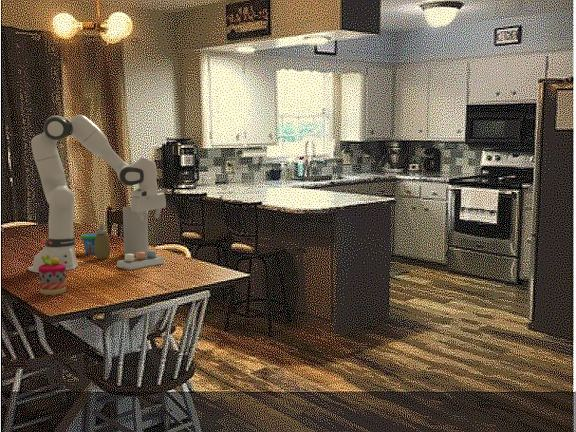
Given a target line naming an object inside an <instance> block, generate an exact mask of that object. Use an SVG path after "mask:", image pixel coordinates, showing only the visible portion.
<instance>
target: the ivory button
mask: <svg viewBox="0 0 576 432" xmlns="http://www.w3.org/2000/svg"><path fill="white" fill-rule="evenodd" d="M134 258H135V256H134V254H124V260H125V261H127V262H131V261H134Z"/></svg>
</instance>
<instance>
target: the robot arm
mask: <svg viewBox="0 0 576 432" xmlns="http://www.w3.org/2000/svg"><path fill="white" fill-rule="evenodd" d="M70 136H71V137H73V138H75V139H76V140H77V141H78V142H79V143H80V145H82V146H83V147H84V148H86V150H88V152H91V153H92V154H94V155H96V156H98V157H100V158H101V159H103V160H104V161H105V162H106V163H107V164H108V165H109V166H110V167H111V168H112V169H113V170H114V171H115V173H116V176H117V179H118V181H119V182H120V183H122V184H123V185H125V186H126V187H128V186H129V187H132V186H135V185H138V187H137V189H135V190H133V191H131V193H130V195H131V199H130V206H131V210H132V211H133V212H138V215H139V216H140V220H141V221H144V220H145V217H143V215H142V214H143V211H147V212H149V211H153V210H154V211H155V214H154V219H159V218H160V213H161V211H162V209H166V206H167V198H166V195H165V191H164V190H163V189H159V188H158V183H157V177H158V175H157V174H158V173H157V164H156V162H155V161H154V160H153V159H150V158H146V157H145V158H144V157H142V158H139V159H138V160H136V161H134V162H133V163H127V162H126V161H124V160H123V159H122V158H121V157H120V156H119V155H118V154H117V153H116V152H115V150H114V149H113V148H112V146H111V145H110V143H109V140H108V138H107V136H106V135H105V133H104V131H102V129H100V128H99V126H98V125H96V123H94V122H93V121H92V120H91V119H89V118H88V117H87V116H85V115H84V114H77V115H74V116H73V117H72V118H69V119H67V118H66V117H64V116H62V115H59V114H58V115H57V114H56V115H51V116H49V117H48V118H46V119H45V122H44V124H43V132H42V133H40V134H37V135H35V136H33V137H32V139H31V142H30V143H31V145H30V146H31V152H32V156H33V159H34V162H35V165H36V168H37V171H38V175H39V179H40V181H41V186H42V189H43V194H44V197H45V200H46V202H47V203H48V207H49V209H48V223H47V224H48V238H47V239H41V241H40V242H41V244H43V245H45V246H44V247H43V248H42V249H41V250H40V251H39V252H38V253H37V254H35V255H34V257H33V261H32V262H33V263H32V265H31V266H28V271H30V272H32V273H38V274H39V267H40V266H41V265H44V264H45V263H44V262H43V259H42V256H45V258H46V255H49V256H50V261H51V260H52V259H53V258H58V259H59V263H60V264H64V265H65V266H66V270H65V271H69V270H74V269H76V268H77V267H78V266H79V263H78V260H77V257H76V250H75V247H76V246H75V245H76V241H75V237H74V215H75V214H74V212H75V211H74V210H75V196H74V192H73V191H72V190H71V189H70V188H69V187H68V183H67V178H66V174H65V170H64V167H63V162H62V159H61V157H60V154H59V151H58V146H57V143H58V141H60V140H64V139H65V138H68V137H70Z"/></svg>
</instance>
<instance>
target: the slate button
mask: <svg viewBox="0 0 576 432" xmlns="http://www.w3.org/2000/svg"><path fill="white" fill-rule="evenodd" d="M146 256H147V257H148V258H153V257H156V256H157V251H156V249H148V250H147V255H146Z"/></svg>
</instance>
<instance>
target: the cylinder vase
mask: <svg viewBox="0 0 576 432" xmlns="http://www.w3.org/2000/svg"><path fill="white" fill-rule="evenodd" d="M142 215H143V217H145V220H144V221H141V220H140V216H139V215H138V212H133V211H132V210H131V205H130V206H123V207H122V219H123V220H122V222H123V223H122V224H123V254H124V255H125V254H134V257H136V252H145V256H147V250H149V229H148V227H149V226H148V225H149V224H148V223H149V220H148V219H149V218H148V211H143V214H142Z"/></svg>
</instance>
